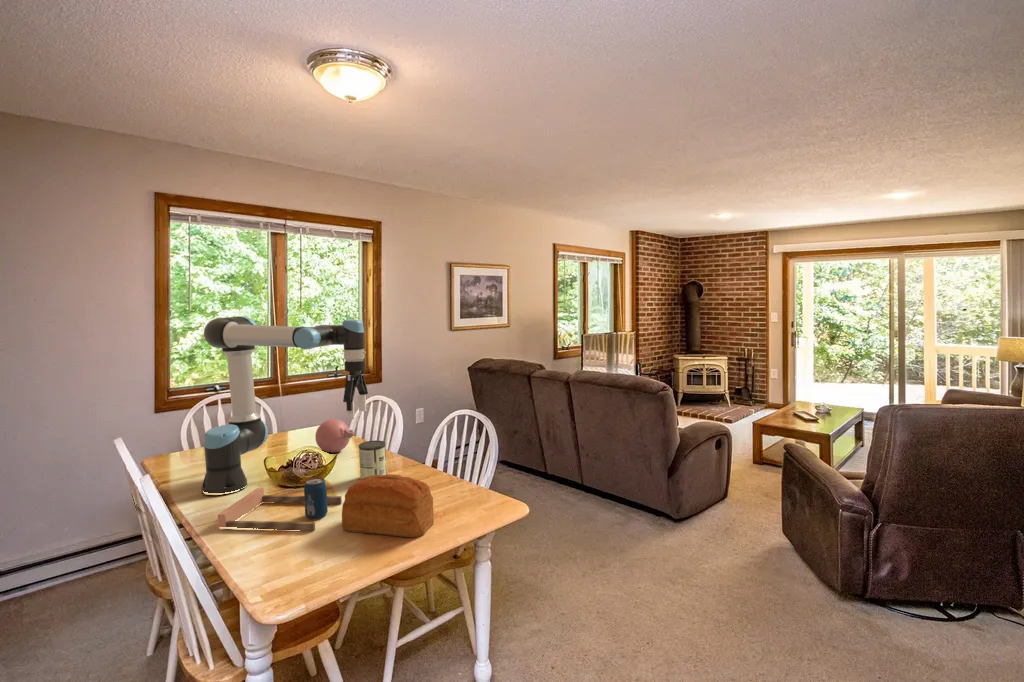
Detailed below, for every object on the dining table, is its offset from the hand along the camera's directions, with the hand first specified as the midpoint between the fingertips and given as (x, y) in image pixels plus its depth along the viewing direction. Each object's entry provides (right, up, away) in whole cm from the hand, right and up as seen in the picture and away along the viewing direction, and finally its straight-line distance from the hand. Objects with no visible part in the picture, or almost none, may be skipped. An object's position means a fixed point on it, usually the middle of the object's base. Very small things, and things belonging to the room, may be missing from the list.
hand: (356, 415), depth 203 cm
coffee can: (+5, -26, +6) cm, 27 cm away
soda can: (-5, -30, -29) cm, 42 cm away
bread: (+21, -30, -37) cm, 52 cm away
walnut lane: (-15, -29, -29) cm, 44 cm away
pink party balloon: (-21, -24, +42) cm, 52 cm away
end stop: (-30, -29, -28) cm, 50 cm away
